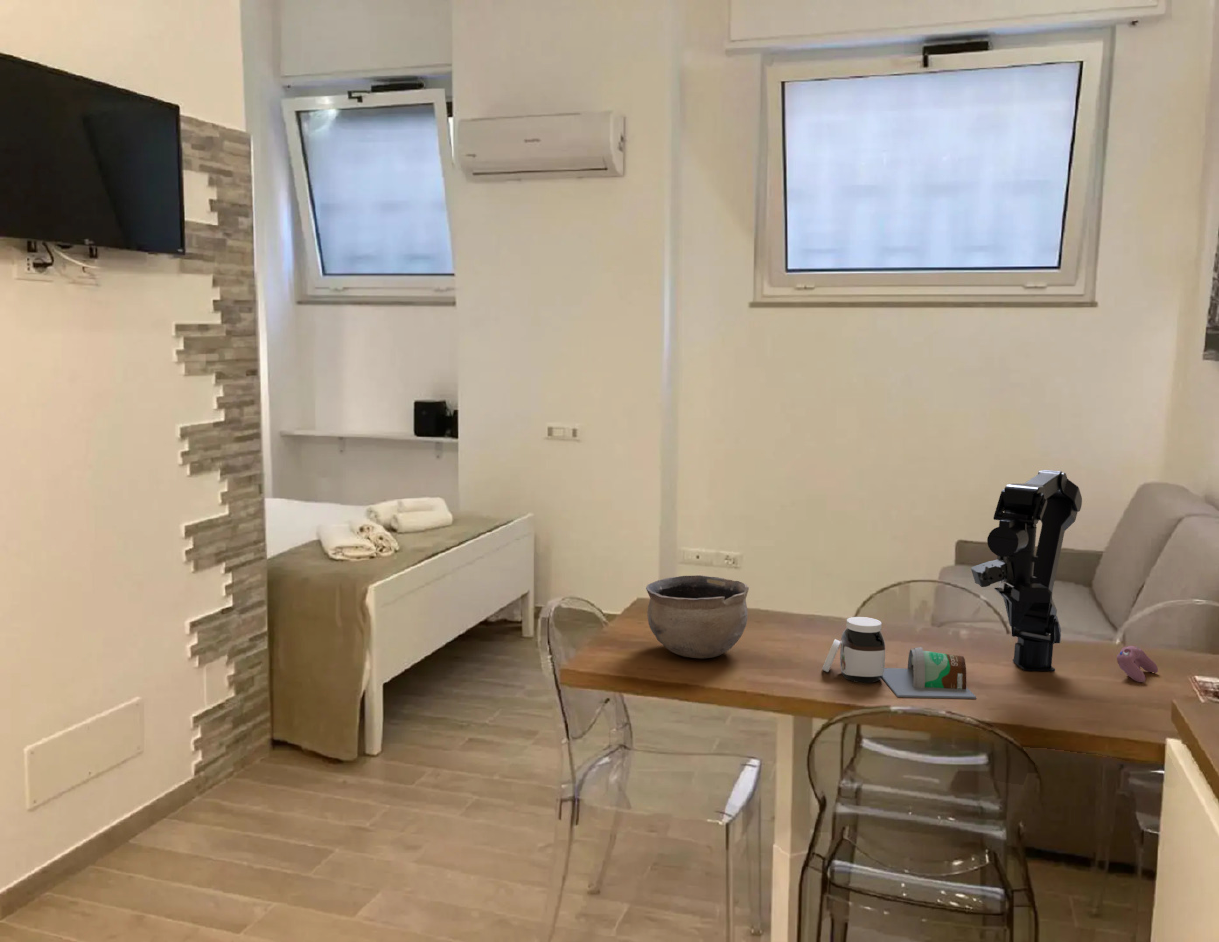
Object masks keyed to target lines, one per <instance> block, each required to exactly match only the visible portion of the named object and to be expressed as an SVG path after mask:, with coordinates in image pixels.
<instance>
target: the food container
mask: <svg viewBox="0 0 1219 942" xmlns="http://www.w3.org/2000/svg"><path fill="white" fill-rule="evenodd" d="M907 668H908V669H912V670H913V687H918V688H924V687H929V688H949V689H966V687H967V665H966V660H965V657H964V656H962V655H955V654H948V653H942V652H935V651H929V650H928V651H927V650H924V649H923V647H921V646H920V647H914V648H912V649H910V650H909V653H908V659H907Z"/></svg>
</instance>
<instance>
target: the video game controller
mask: <svg viewBox="0 0 1219 942" xmlns="http://www.w3.org/2000/svg"><path fill="white" fill-rule="evenodd" d="M1116 660H1117V664H1118V666H1119V668H1120V669H1121V670H1122V671H1123V672H1124V673H1125V674H1126V676H1127V677H1130V678H1131V679H1132V680H1133V681H1135V682H1137V683H1140V682H1143V683H1145V681H1146V674H1144V671H1146V672H1148V673H1150V672H1154V673H1155V674H1156V673H1158V671H1159V668H1158V666H1157V663H1156V662H1155V661H1153V660H1152V659H1151V658H1150V657H1149V656H1148V655H1147V653H1145V651H1144V650H1143V649H1142V648H1140V646H1139V645H1137V646H1134V645H1127V646H1124V647H1122V648H1121V650H1120V652H1119V653H1118V654H1117V655H1116ZM1141 668H1142V669H1143V670H1144V671H1142V669H1141Z"/></svg>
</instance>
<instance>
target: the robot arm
mask: <svg viewBox="0 0 1219 942" xmlns="http://www.w3.org/2000/svg"><path fill="white" fill-rule="evenodd" d="M1082 505H1083V498H1082V494H1081V491H1080V487H1079V486H1078V485H1076V484H1075V483H1074V482H1072V481H1071V480H1069V479H1068V476H1067V473H1066V472H1063V471H1062V470H1060V471H1059V470H1051V469H1042V470H1039V471H1038V473H1037V475H1034V477H1032V478H1030V479H1029V480H1027V481H1026V482H1025V483H1008V484H1006V486H1005V487H1004V488H1003V489H1002V490H1001V492H1000V495H999V498H998V502H997V505H996V507H995V510H994V514H993V520H994V521H999V522H998V523H999V524H998V527H995V528H993V529H992V530H991V531H990V532H989V533H988V536H987V537H986V538H987V539H986V542H987V546H988V548H989V550H990V552H992V553H993V554H994V555H996V556H997V557H996V559H993V560H989V561H986V562H983V563H980V564H977V565H973V566H971V568H970V569H971V570H970V571H971V573H972V576H973V579H974V583H975V584H978V585H979V587H981V588H986V587H987V588H988V587H990V586H991V585H992V584H995V583H998V587H994V590H995V591H996V592H997V593H998V595H1000V596H1001V597H1002V598H1003V601H1004V605H1005V610H1006V615H1007V618H1008V620H1007V621H1008V624H1009V626H1010V628H1011V637H1015V638H1017V640H1016V641H1017V642H1015V643H1014V654H1013V655H1014V656H1013V659H1012V662H1013V663H1014V664H1015V665H1017V666H1018V667H1019V668H1020V669H1022V670H1024V671H1026V672H1030V671H1031V672H1038V671H1039V672H1055V671H1056V668H1055V667H1053V666H1052V664H1053V655H1054V654H1053V652H1054V644H1061V640H1062V628H1061V625H1060V621H1059V618H1058V616H1057V613H1058V609H1057V607H1056V605H1055V601H1054V599H1053V589H1054V585H1055V581H1056V575H1057V571H1058V565H1059V562H1060V556H1061V552H1062V547H1063V541H1064V536H1065V532H1066V531H1067V529H1069V528H1070V527H1071V526H1073V524H1074V523H1075V522H1076V519H1077V516H1078V512H1080V511H1081V509H1082ZM1039 521H1040V522H1041V529H1040V533H1039V538H1038V542H1037V546H1036V540H1037V539H1036V537H1037V524H1038V523H1039Z"/></svg>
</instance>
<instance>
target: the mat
mask: <svg viewBox="0 0 1219 942" xmlns="http://www.w3.org/2000/svg"><path fill="white" fill-rule="evenodd" d="M881 679H882V680H883V681H884V683H886V685H887V686H888V687H889V689H890V690H891V691H892V692H893V694H894V695H895V696H896V697H897V698H919V699H920V698H921V699H922V698H924V699H968V700H969V699H972V700H973V699H974V700H975V699H977V696H976V695H975V694H974V693H973V692H972V691H971V690H970V689H969V687H967V686H966V689H949V688H929V687H924V688H918V687H913V670H912V669H908V667H907V668H903V667H902V668H901V667H884V674H883V677H882V678H881Z"/></svg>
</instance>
